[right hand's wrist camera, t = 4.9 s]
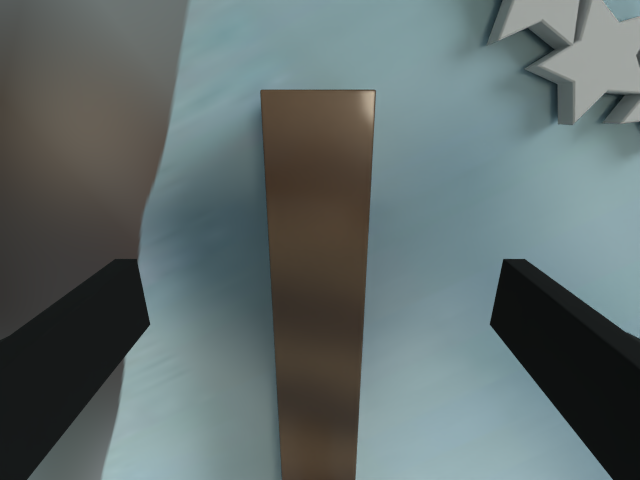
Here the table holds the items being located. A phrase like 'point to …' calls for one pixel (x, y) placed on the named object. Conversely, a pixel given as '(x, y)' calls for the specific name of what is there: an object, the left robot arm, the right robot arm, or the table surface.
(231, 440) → the table surface
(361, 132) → the bar
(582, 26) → the decorative wreath
